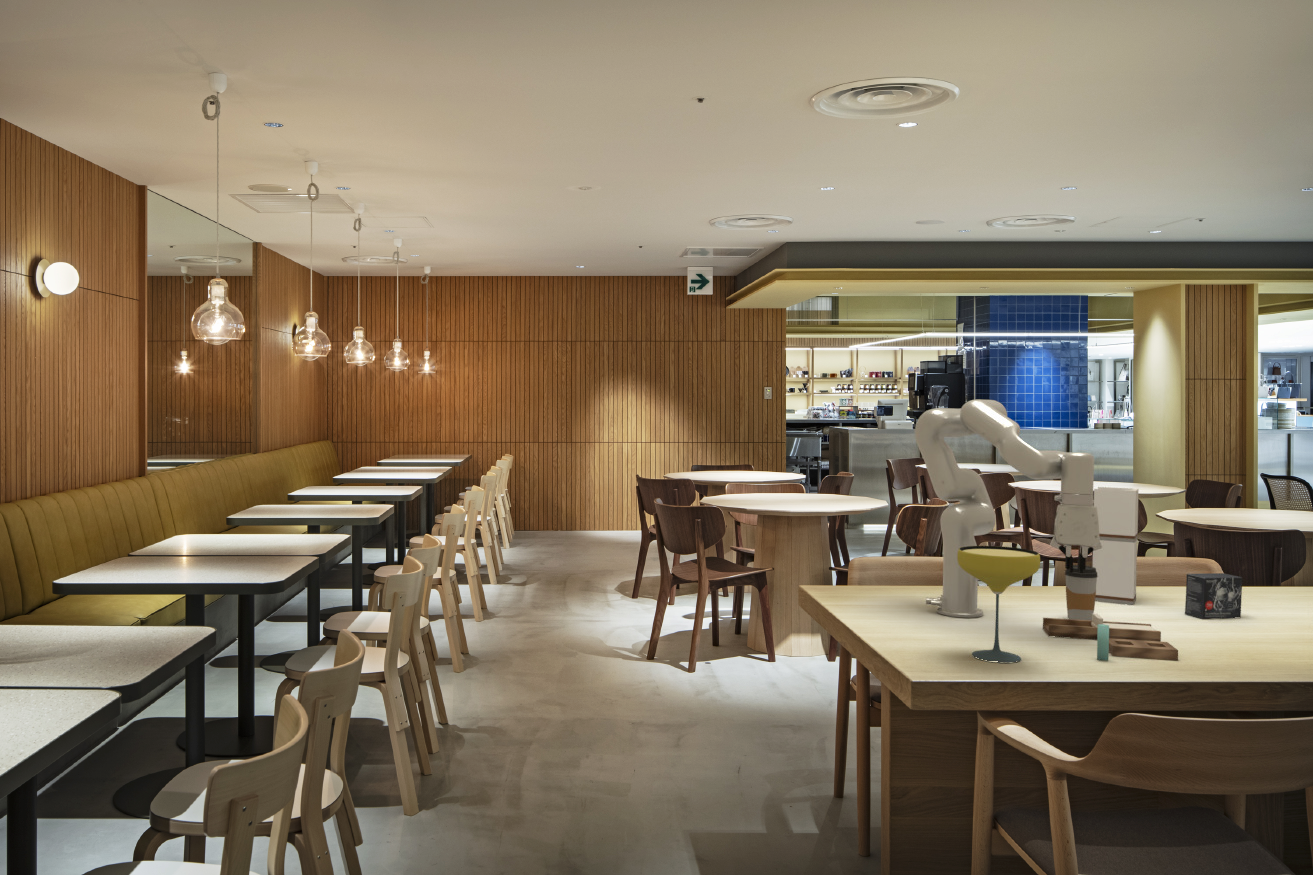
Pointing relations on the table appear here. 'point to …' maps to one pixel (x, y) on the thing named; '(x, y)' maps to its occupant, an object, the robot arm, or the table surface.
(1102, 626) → the pin
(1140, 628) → the lid
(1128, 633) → the board
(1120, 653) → the pin board
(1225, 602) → the small box
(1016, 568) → the cocktail glass
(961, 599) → the robot arm
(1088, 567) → the coffee cup
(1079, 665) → the table surface
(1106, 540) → the mini fridge
